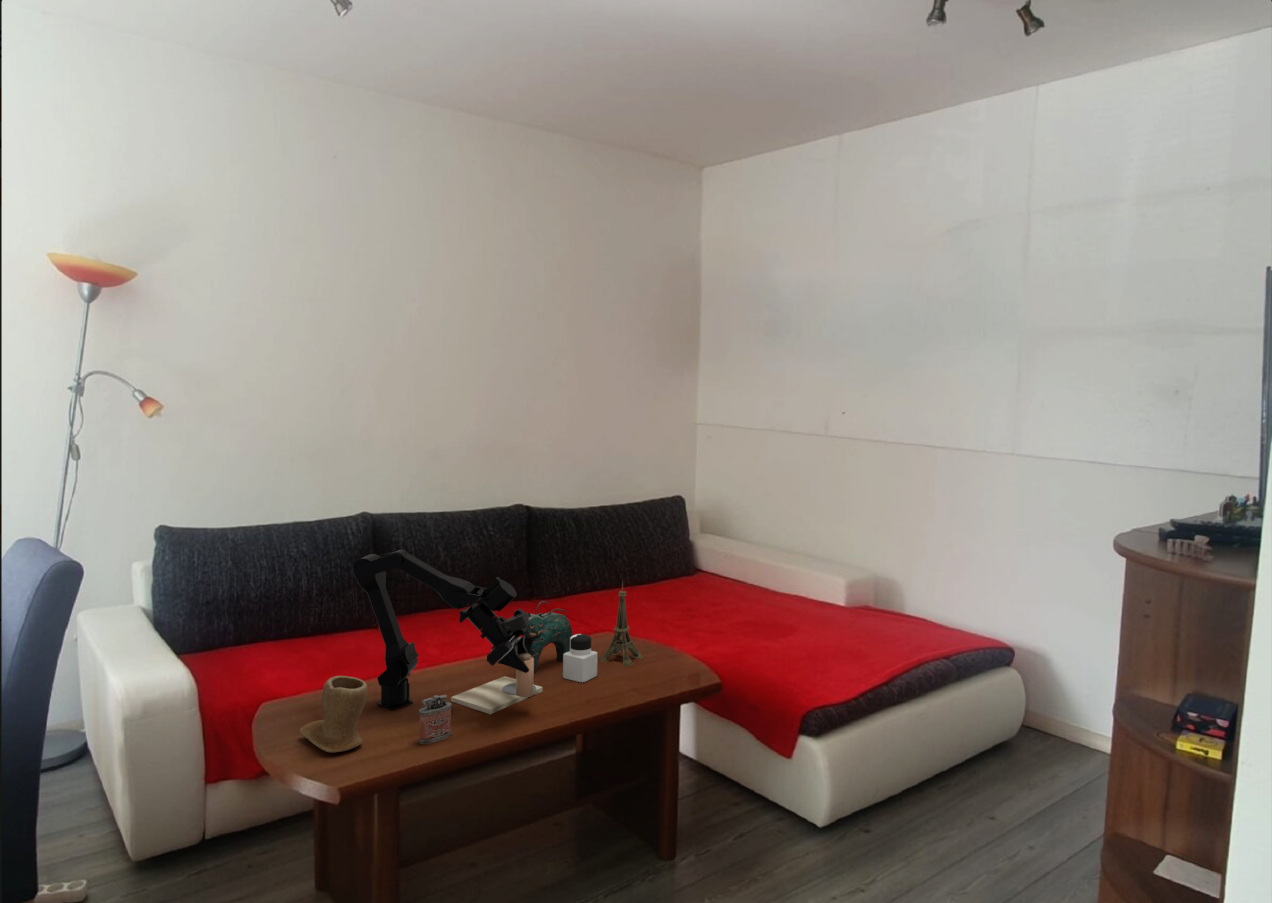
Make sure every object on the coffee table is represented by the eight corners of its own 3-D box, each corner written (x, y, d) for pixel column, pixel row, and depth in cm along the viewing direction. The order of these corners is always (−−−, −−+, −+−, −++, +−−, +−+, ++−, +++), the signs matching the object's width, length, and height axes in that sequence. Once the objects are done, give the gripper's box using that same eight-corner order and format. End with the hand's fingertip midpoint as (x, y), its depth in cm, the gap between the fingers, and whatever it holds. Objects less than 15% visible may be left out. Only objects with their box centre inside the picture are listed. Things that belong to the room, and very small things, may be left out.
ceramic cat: (528, 677, 239) (528, 608, 238) (512, 672, 243) (512, 603, 242) (575, 660, 255) (576, 595, 253) (560, 655, 259) (561, 591, 257)
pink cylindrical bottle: (525, 698, 210) (525, 658, 209) (512, 694, 213) (512, 655, 212) (536, 693, 214) (537, 654, 213) (523, 689, 216) (524, 651, 215)
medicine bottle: (597, 676, 241) (598, 635, 240) (582, 683, 235) (583, 641, 234) (577, 671, 245) (578, 630, 244) (562, 678, 239) (562, 636, 238)
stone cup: (376, 746, 192) (376, 681, 191) (325, 761, 184) (324, 694, 183) (348, 725, 203) (348, 664, 202) (298, 738, 195) (298, 675, 194)
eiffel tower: (612, 652, 263) (614, 573, 262) (643, 657, 259) (645, 576, 257) (597, 662, 254) (599, 580, 252) (629, 667, 250) (631, 584, 248)
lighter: (446, 731, 201) (446, 690, 200) (454, 735, 199) (454, 694, 198) (416, 740, 196) (416, 698, 195) (423, 745, 193) (423, 702, 192)
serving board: (491, 714, 212) (491, 709, 212) (451, 701, 220) (451, 696, 220) (544, 691, 228) (544, 686, 228) (504, 680, 236) (504, 675, 236)
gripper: (500, 611, 202) (544, 659, 202) (519, 592, 221) (560, 636, 221) (468, 641, 204) (512, 689, 204) (490, 620, 222) (530, 664, 222)
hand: (530, 668), depth 212 cm, fingers closed on pink cylindrical bottle, 4 cm apart
